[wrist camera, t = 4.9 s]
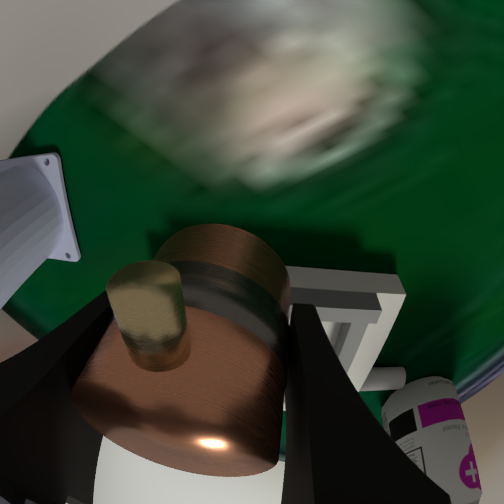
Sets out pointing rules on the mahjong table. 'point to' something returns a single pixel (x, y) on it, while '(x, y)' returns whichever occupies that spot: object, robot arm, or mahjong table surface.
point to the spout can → (195, 355)
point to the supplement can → (435, 435)
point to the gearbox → (353, 319)
